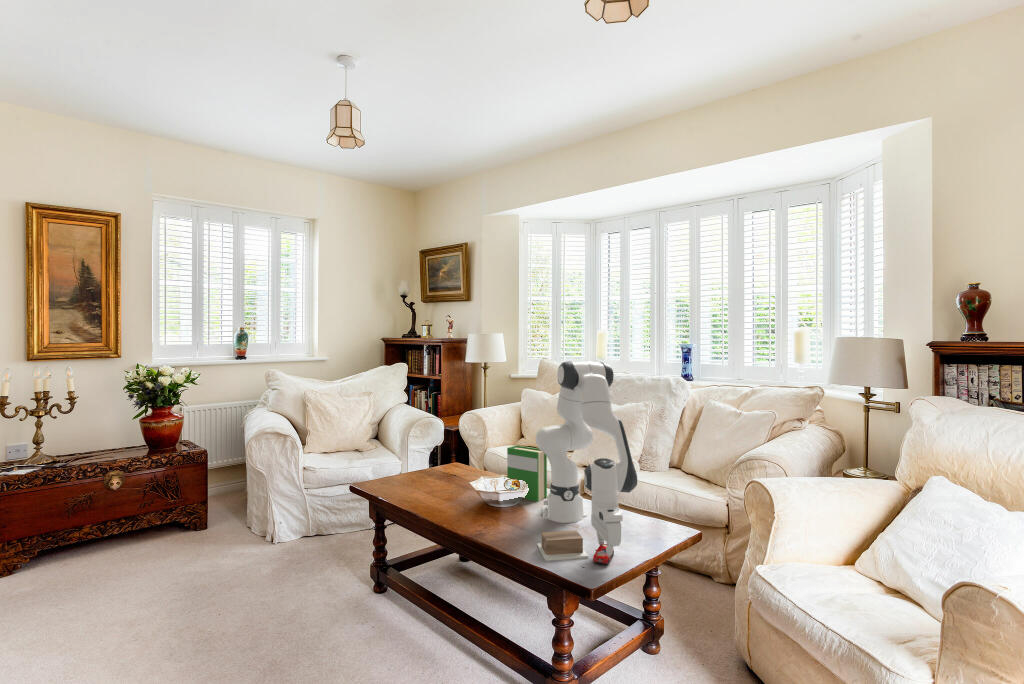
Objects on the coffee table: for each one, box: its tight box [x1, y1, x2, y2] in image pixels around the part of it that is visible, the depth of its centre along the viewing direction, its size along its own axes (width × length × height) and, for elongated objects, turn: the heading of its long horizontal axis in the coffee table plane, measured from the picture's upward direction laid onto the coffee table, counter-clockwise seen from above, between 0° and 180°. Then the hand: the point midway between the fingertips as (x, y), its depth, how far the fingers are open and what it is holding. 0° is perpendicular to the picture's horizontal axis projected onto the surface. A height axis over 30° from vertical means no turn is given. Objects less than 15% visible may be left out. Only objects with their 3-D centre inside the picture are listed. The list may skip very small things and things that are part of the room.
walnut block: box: [540, 529, 584, 555], centre depth 189 cm, size 8×13×5 cm, turn 99°
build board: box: [536, 542, 589, 562], centre depth 189 cm, size 14×15×1 cm
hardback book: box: [506, 444, 548, 503], centre depth 252 cm, size 18×7×24 cm, turn 51°
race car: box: [592, 543, 615, 565], centre depth 183 cm, size 13×5×4 cm, turn 157°
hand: (605, 549), depth 180 cm, fingers open, 7 cm apart
